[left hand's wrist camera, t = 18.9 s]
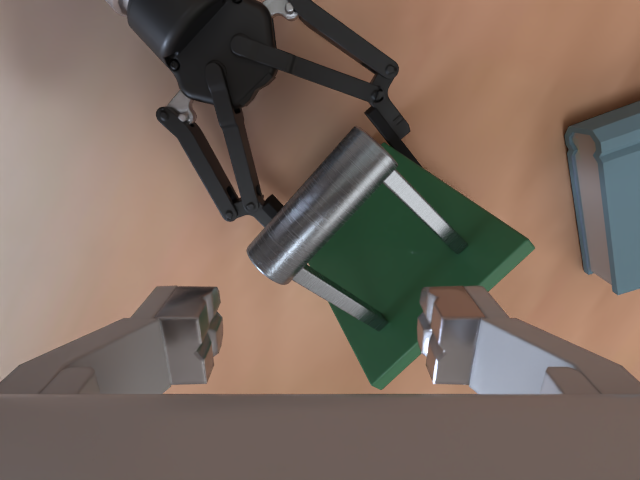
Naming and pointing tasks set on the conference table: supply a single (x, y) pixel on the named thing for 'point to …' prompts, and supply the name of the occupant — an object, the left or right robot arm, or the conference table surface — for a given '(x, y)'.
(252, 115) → the conference table surface
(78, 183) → the conference table surface
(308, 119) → the conference table surface
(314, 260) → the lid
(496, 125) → the conference table surface
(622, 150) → the book
